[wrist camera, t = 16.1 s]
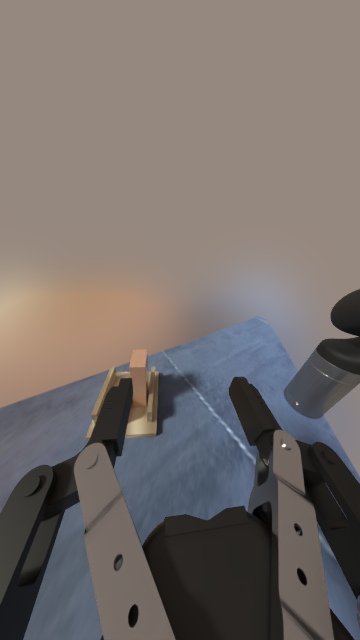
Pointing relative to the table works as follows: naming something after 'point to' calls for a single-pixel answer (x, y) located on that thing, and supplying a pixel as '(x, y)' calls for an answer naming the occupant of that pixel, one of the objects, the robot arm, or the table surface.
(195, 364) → the table surface
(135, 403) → the clay slat
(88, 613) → the table surface
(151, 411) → the wooden slotted stand
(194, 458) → the table surface
